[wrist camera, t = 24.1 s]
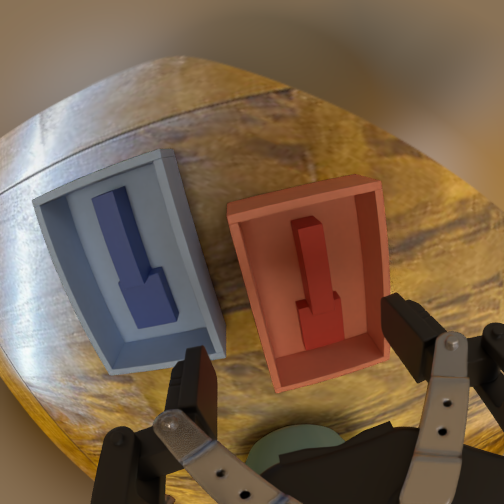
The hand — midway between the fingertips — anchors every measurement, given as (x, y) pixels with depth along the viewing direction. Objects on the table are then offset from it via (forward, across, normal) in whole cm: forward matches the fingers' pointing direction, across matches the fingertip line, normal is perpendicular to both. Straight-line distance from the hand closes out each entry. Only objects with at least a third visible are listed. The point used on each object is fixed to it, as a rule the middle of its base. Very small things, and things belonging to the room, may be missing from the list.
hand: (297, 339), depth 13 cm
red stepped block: (+11, -3, +4) cm, 12 cm away
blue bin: (+12, +10, -2) cm, 16 cm away
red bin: (+12, -3, +3) cm, 13 cm away
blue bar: (+12, +10, -2) cm, 15 cm away
